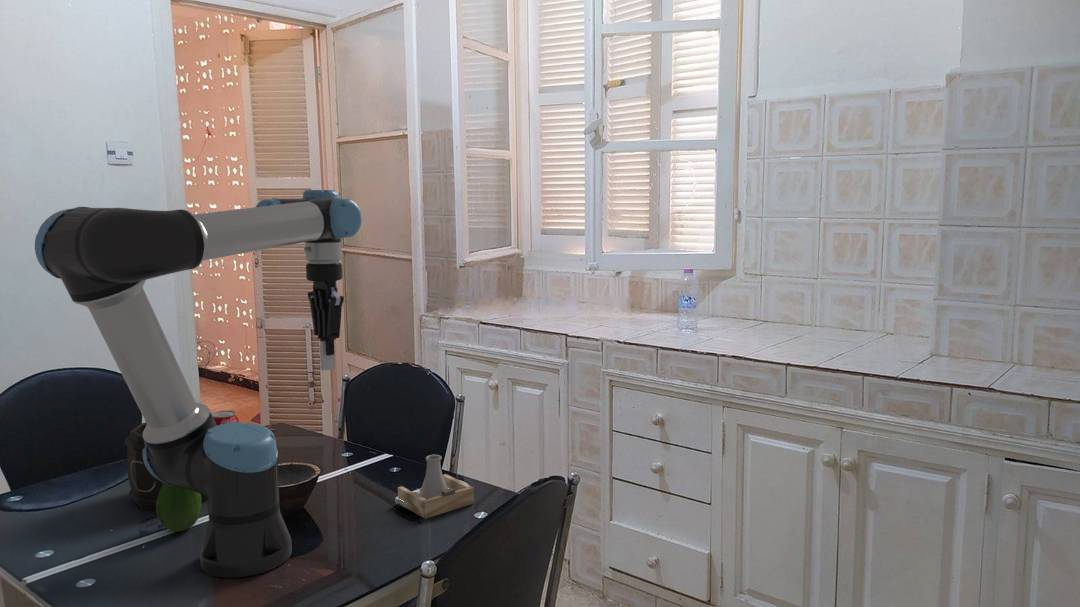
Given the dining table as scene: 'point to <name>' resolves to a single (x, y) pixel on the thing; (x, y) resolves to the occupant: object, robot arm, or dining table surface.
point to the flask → (433, 478)
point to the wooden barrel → (142, 472)
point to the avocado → (177, 507)
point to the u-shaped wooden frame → (438, 499)
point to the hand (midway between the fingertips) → (328, 369)
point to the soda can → (225, 417)
